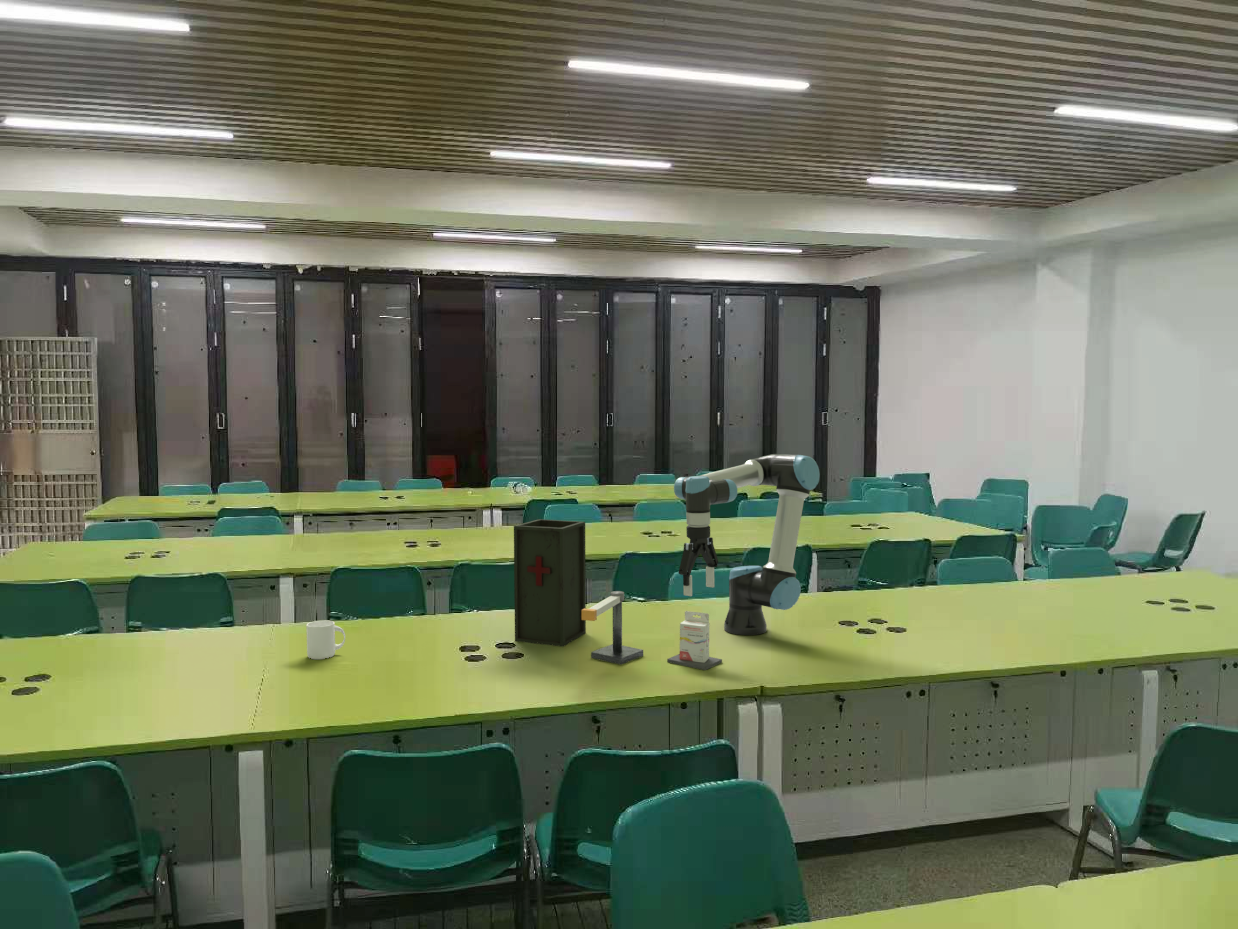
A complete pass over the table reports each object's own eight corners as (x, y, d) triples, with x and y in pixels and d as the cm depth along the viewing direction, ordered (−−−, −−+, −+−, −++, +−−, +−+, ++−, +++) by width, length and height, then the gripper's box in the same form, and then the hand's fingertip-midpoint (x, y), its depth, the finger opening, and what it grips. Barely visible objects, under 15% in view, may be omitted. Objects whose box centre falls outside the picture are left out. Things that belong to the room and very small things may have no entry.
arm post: (613, 649, 286) (613, 596, 284) (643, 655, 278) (643, 601, 277) (591, 658, 276) (591, 602, 275) (621, 664, 269) (621, 608, 268)
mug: (348, 656, 279) (347, 623, 278) (309, 661, 273) (308, 628, 272) (343, 649, 286) (342, 617, 286) (305, 654, 281) (304, 622, 280)
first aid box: (514, 641, 296) (513, 525, 293) (539, 628, 313) (538, 519, 310) (563, 646, 289) (562, 528, 286) (585, 633, 306) (585, 521, 303)
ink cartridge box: (678, 660, 270) (679, 614, 269) (683, 655, 275) (684, 610, 274) (704, 663, 267) (705, 616, 266) (709, 658, 272) (709, 612, 271)
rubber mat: (684, 654, 280) (684, 651, 279) (721, 662, 271) (721, 659, 271) (667, 662, 272) (667, 659, 272) (705, 670, 263) (705, 667, 263)
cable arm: (613, 600, 279) (613, 590, 279) (626, 601, 277) (626, 591, 277) (580, 619, 254) (580, 609, 254) (594, 621, 252) (594, 610, 252)
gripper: (708, 519, 284) (709, 582, 286) (666, 530, 264) (667, 597, 266) (728, 520, 280) (729, 584, 282) (687, 532, 260) (688, 600, 262)
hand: (699, 591), depth 274 cm, fingers open, 13 cm apart
